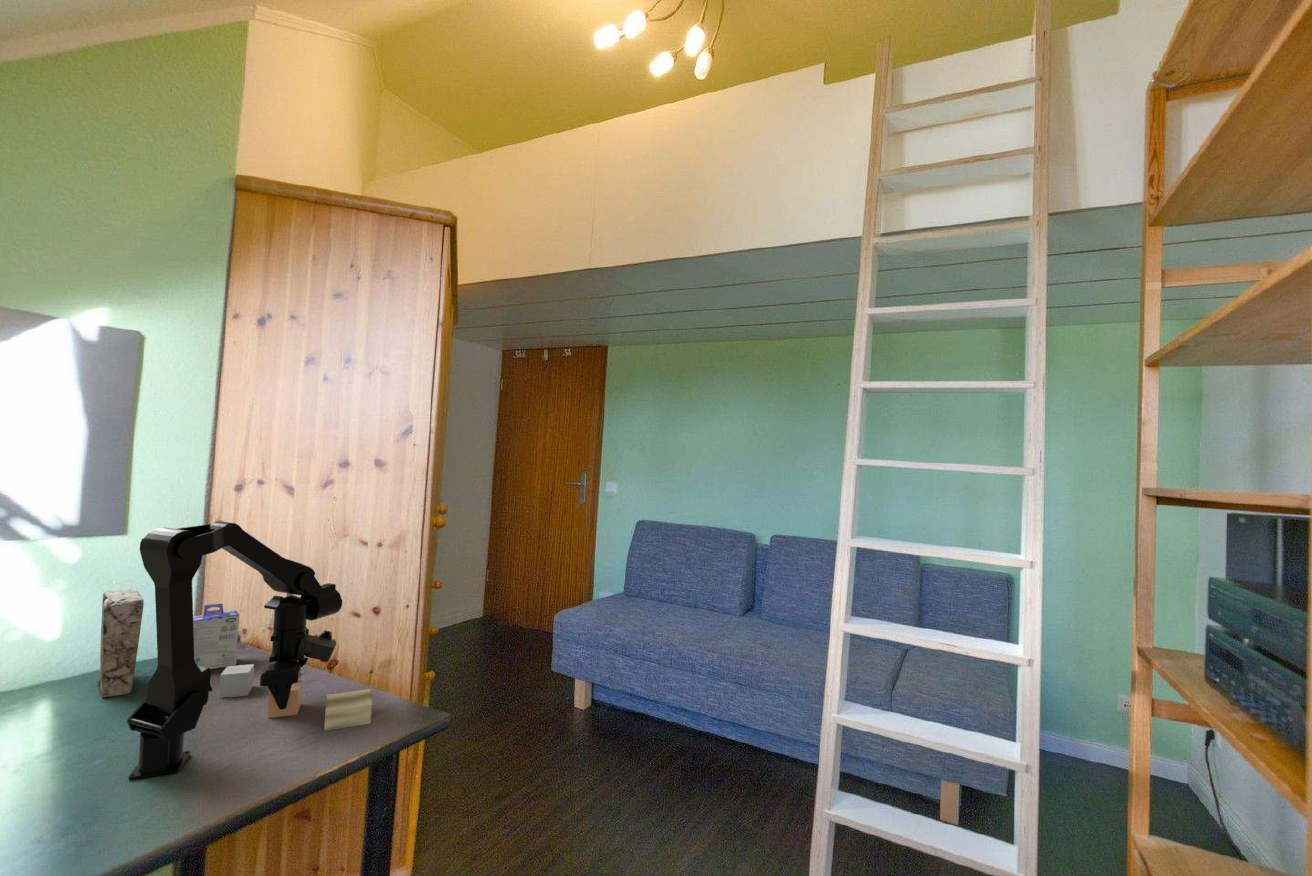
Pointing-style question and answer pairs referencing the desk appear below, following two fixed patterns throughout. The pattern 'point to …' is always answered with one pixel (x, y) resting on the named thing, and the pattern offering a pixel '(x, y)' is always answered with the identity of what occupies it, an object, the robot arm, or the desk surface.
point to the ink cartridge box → (216, 637)
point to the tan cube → (292, 703)
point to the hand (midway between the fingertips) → (285, 703)
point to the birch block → (348, 709)
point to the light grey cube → (236, 681)
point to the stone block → (119, 640)
